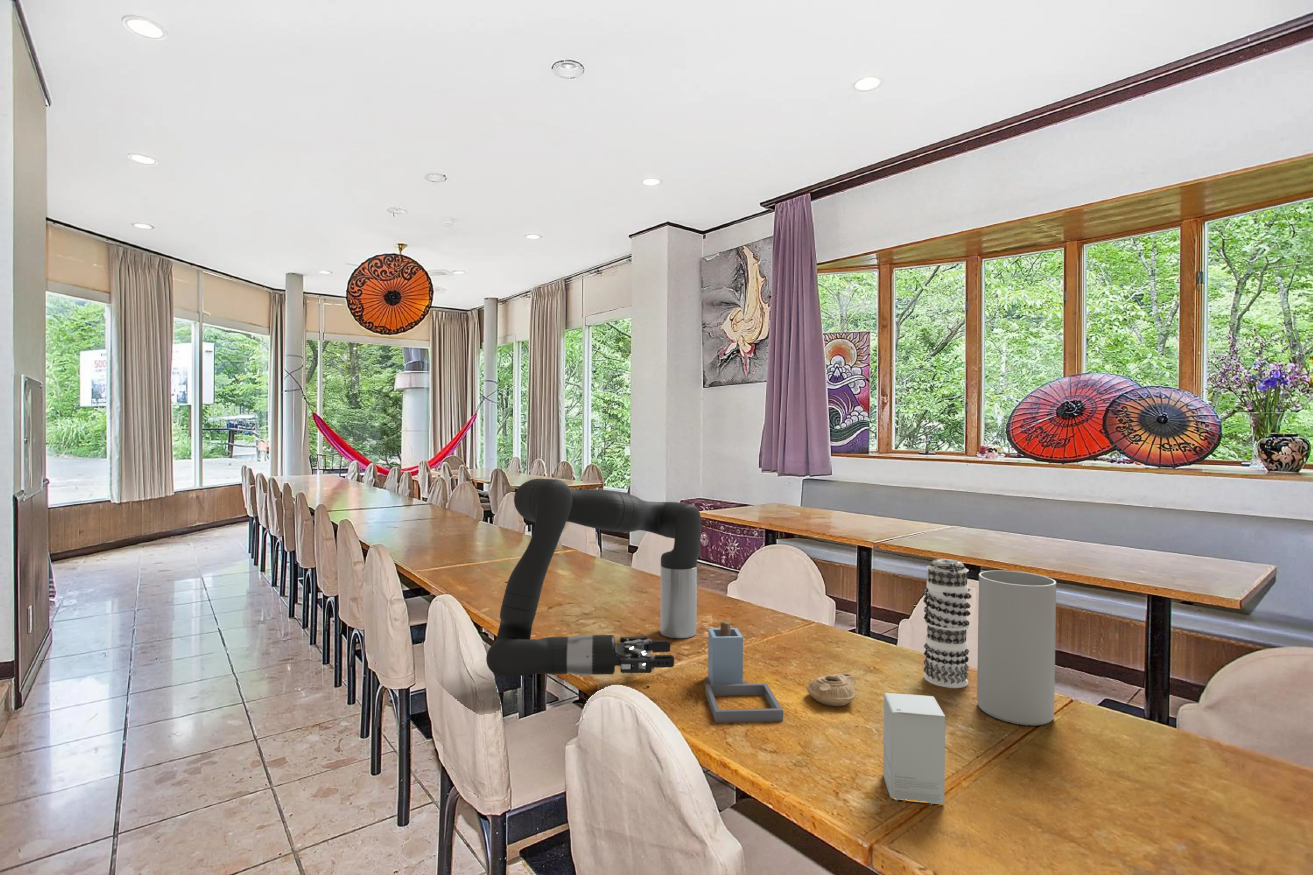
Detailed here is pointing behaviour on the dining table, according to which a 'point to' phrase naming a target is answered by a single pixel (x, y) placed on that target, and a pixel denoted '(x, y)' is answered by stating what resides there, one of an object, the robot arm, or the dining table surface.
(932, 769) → the supplement box
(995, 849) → the dining table surface
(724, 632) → the box
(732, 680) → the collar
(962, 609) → the decorative candle
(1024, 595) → the cylinder vase
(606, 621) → the dining table surface
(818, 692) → the pottery oil lamp
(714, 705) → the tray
